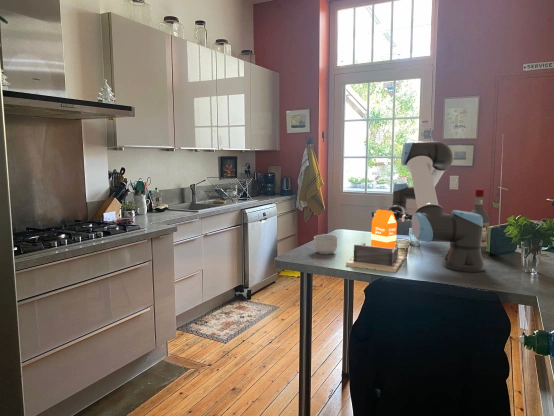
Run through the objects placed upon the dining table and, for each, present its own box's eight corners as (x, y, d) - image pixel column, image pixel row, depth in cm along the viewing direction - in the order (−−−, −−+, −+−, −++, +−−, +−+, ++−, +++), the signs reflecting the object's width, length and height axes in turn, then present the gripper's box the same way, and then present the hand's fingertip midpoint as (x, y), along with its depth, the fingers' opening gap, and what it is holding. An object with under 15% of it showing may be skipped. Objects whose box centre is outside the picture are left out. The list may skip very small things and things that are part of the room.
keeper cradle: (395, 272, 159) (396, 251, 158) (346, 265, 168) (346, 245, 167) (404, 259, 179) (405, 241, 178) (359, 254, 188) (360, 236, 187)
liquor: (460, 248, 204) (465, 188, 200) (476, 247, 206) (480, 188, 202) (474, 252, 195) (479, 190, 191) (489, 251, 197) (495, 190, 194)
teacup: (335, 256, 184) (336, 239, 183) (312, 255, 186) (312, 237, 185) (337, 249, 197) (338, 233, 196) (315, 248, 199) (315, 232, 198)
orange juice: (380, 249, 199) (382, 208, 197) (395, 252, 193) (397, 210, 190) (370, 251, 194) (372, 210, 192) (385, 255, 188) (387, 212, 185)
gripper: (419, 221, 216) (414, 227, 197) (372, 217, 226) (363, 223, 208) (420, 207, 215) (415, 212, 196) (373, 204, 225) (363, 208, 206)
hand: (388, 217), depth 202 cm, fingers open, 13 cm apart
